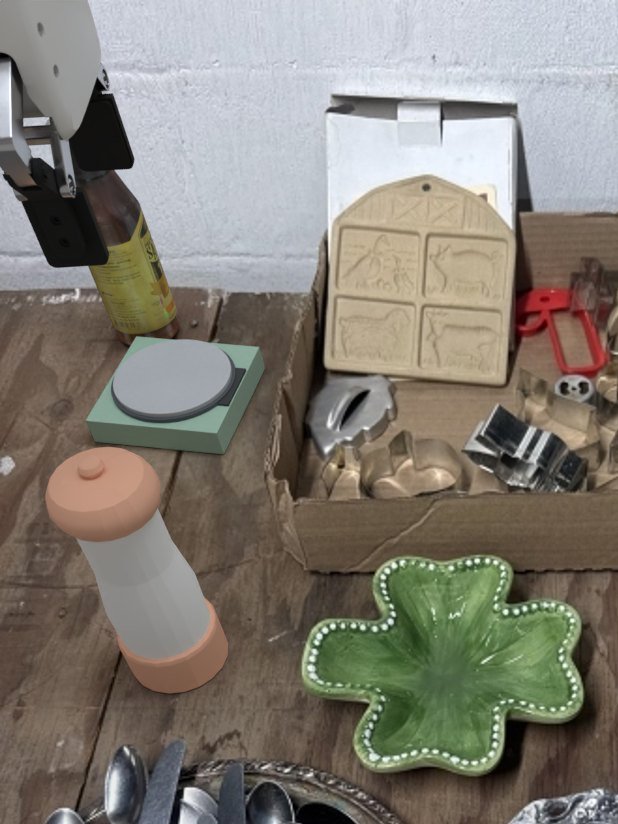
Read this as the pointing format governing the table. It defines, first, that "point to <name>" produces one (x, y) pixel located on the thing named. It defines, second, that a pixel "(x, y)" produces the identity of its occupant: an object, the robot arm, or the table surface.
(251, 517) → the table surface
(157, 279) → the sauce bottle
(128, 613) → the pepper shaker
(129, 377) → the scale
